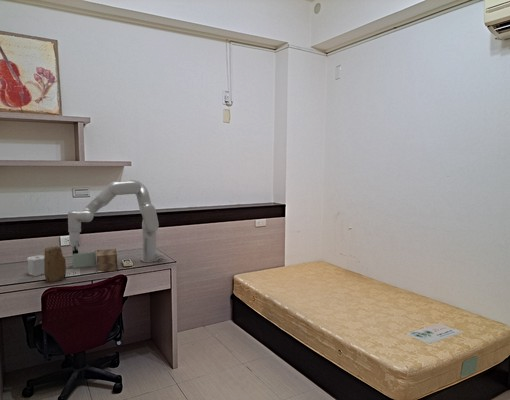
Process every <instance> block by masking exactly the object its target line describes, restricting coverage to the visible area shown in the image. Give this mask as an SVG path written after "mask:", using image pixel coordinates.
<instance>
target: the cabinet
mask: <svg viewBox="0 0 510 400" xmlns="http://www.w3.org/2000/svg"><path fill="white" fill-rule="evenodd" d="M96 270H97V271H109V272H117V271H118V254H117V249H116V248H110V249H108V248H107V249H97V250H96ZM97 271H96V272H97Z"/></svg>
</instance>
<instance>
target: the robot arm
mask: <svg viewBox="0 0 510 400" xmlns="http://www.w3.org/2000/svg"><path fill="white" fill-rule="evenodd" d="M133 194H134V195H135V197H136V199H137V202H138V208H139V213H140V214H141V216H142V222H141V231H142V256H141V257H140V261H141V262H142V263H143V262H144V263H153V261H154V262H158V260H159V258H163V257H164V254H163V253H157V230H159V226H160V224H159V220H158V215H157V210H156V207H155V206H154V205H153V204H152V201H151V197H150V193H149V191H148V188H147V187H146V186H145V185H144V184H143V183H142V182H140V181H139V180H136V179H130V180H128V181H120V182H119V181H117V180H115V181H111V182H110V183H109V184H108V185H107V186H106V187H105V188H104V189H103V190H101V192H100V193H99V194H98V195H97V196H95V198H94V199H93V200H91V201H90V202H89V203H88V204H87V205H86V206H85V207H83V209H82V210H81V211H80V210H69V211H68V212H67V224H68V225H67V226H68V230H67V231H68V233H69V234H68V235H69V236H68V239H69V242H68V245H69V247H71V250H72V255H73V254H77V253H79V248H80V247H81V237H80V236H81V235H80V234H81V232H82V223H89V222H92V220H93V219H94V215H95V214H96V213H97V212H99V210H101V209H102V208H103V207H106V206H107V205H109V204H110V203H111V202H112V201H113V200H114V199H115V197H116V196H123V195H125V196H126V195H133Z"/></svg>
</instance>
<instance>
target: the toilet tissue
mask: <svg viewBox="0 0 510 400" xmlns="http://www.w3.org/2000/svg"><path fill="white" fill-rule="evenodd" d="M26 260H27V274H29V276H33V277H38V276H40V275H41V274H42V275H45V273H44V254H43V255H42V254H39V255H32V256H28V257H27V258H26Z"/></svg>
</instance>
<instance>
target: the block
mask: <svg viewBox="0 0 510 400" xmlns="http://www.w3.org/2000/svg"><path fill="white" fill-rule="evenodd" d="M43 255H44V273H45V274H44V278H45V280H46V282H50V283H51V282H52V283H53V282H58V281H61V280H62V281H63V280H64V279H65V278H66V273H67V266H66V265H67V264H66V258H65V256H64V255H63V251H62V248H61V246H58V245H57V246H49V247H46V248H44V254H43Z"/></svg>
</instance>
